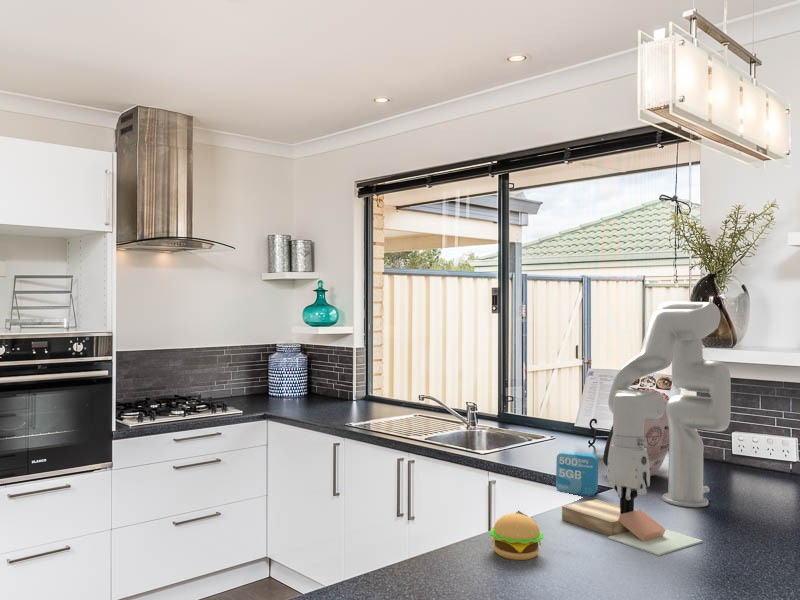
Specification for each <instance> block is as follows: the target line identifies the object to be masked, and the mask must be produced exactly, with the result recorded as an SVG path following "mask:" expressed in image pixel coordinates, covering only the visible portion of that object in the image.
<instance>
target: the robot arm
mask: <svg viewBox="0 0 800 600" xmlns="http://www.w3.org/2000/svg"><path fill="white" fill-rule="evenodd" d="M720 322H721V311H720V309H719V307H718V305H716V304H715V303H714V302H709V301H667V302H663V303H661V304H658V307H657V308H656V311H654V312H653V313H652V314H651V316H650V318H649V321H648V325H647V328H646V331H645V334H644V336H643V340H642V344H641V347H640V351H639V353H638V354H637V355H635V357H633V358H631V359H630V360H629V361H628V362H627V363H625V364H624V366H622V367H621V368H620V369H619V371H617V373H616V375H615V376H614V378H613V381H612V384H611V388H610V391H609V395H608V409H609V410H610V412H611V413H612V414H613V415H612V416H613V417H612V420H613V422H612V425H613V445H611V447H610V452H609V457H608V467H607V466H606V467H607V468H606V470H607V471H606V474H607V475H606V476H607V480H608V486H609V487H610V488H612V489H614V490H615V492H616V493H617V497H618V498H619V506H620V514H623V513H627V512H632V511H634V509H635V499H637V497H638V496H644V495H647V494H648V491H647V489H648V488H649V487H650V484H651V476H650V469H649V459H648V454H647V450H646V449H644V446H646V445H647V441H645V440H644V420H657V419H659V418H660V417H662V415H663V414H664V412H665V409H666V413H667V419H668V426H669V448H668V482H667V483H668V488H667V490H668V491H667V492H666V493H663V495H662V500H663V501H664V502H666V503H668V504H671V505H674V506H675V505H676V506H679V507H686V508H703V507H707V506H708V505H709V499H707V498H706V497H704V494H706V493H709V492H710V487H709V486H708V485H704V450H705V449H704V447H705V446H704V442H703V439H702V437H701V435H700V433H698V431H697V430H703V431H704V430H705V431H710V432H724V431H726V430H728V427H729V426H730V425H731V424H730V423H731V411H732V409H731V408H732V406H731V402H732V401H731V399H732V398H731V396H732V394H731V389H732V388H731V387H732V383H731V382H732V381H731V373H730V372H731V371H730V370H729V367H728V365H727V364H726V363H724V362H723V361H719V360H712V359H704V357H703V341H702V340H703V339H705V338H706V337H707V336H710V334H712V333H713V332H715V331H716V330H717V329H718V327H719V325H720ZM670 366H671V381H672V384H673V386H674V388H676V389H678V390H681V391H684V392H685V391H687V392H696V393H697V392H698V393H707V394H709V396H710V397H708V396H699V395H691V394H690V395H688V394H677V395H673V396H671V397H670V398H669V399H668V400H667V405H666V403H665V400H666V399H665V398H664V397H663V396H662V394H660V393H658V392H656V391H655V392H654V391H651V390H641V389H631V388H630V387H631V385H632V384H633V383H634V382H636V381H637V380H639V379H641V378H643V377H644V376H648V375H651V374H653V373H654V374H655V373H657V372H660V371H663V370H665V369H667V368H668V367H670ZM664 399H665V400H664Z"/></svg>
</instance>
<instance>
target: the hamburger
mask: <svg viewBox="0 0 800 600" xmlns="http://www.w3.org/2000/svg"><path fill="white" fill-rule="evenodd" d="M525 515H526V514H525ZM525 515H522V514H517V513H516V512H515V513H508V514H505V515H502V516H501V517H499V518H498V519H497V520H496V522H495V523H494V526H493V527H492V528H491V530H490V531H489V533H490V536H492V537H491V539H490V541H491V544H493V550H494V551H495V553H496V554H497V555H499V556H500V557H502V558H504V559H505V558H506V559H510V560H518V561H526V560H531V559H533V558H535V557H537V556H538V554H539V552H540V549H539V546H541V545H542V542H541V540H543V539H544V533H542V532H541V531H540V527H539V526H538V522H537V521H535V520H534V519H533V518H531V517H530V516H528V515H527V516H525ZM532 519H533V520H532ZM536 522H537V523H536Z"/></svg>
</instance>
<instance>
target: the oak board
mask: <svg viewBox="0 0 800 600" xmlns="http://www.w3.org/2000/svg"><path fill="white" fill-rule="evenodd" d="M634 511H636V510H634ZM619 517H620V505H617V504H614V503H610V502H607V501H603V500H601V499H592V500H587V501H582V502H577V503H572V504H567V505H562V507H561V520H562V521H565V522H567V523H570V524H574V525H576V526H580V527H582V528H586V529H588V530H591V531H595V532H597V533H600V534H603V535H606V536H608V537H609V536H613V535H617V534H621V533H624V532H628V531H630V530H628V529H627V528H626V527H625V526H624V525H622V524H621V523H620V522H619V521H618V519H619Z"/></svg>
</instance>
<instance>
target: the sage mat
mask: <svg viewBox="0 0 800 600" xmlns="http://www.w3.org/2000/svg"><path fill="white" fill-rule="evenodd" d="M665 529H666V530H665V533H664V535H663V536H662V537H658V538H654V539H651V540H647V541H644V542H643V541H642V540H641V539H639V538H638V537H637V536H636V535H635V534H633V533H632V532H631V531H628V532H624V533H621V534H617V535H613V536H609V535H608V537H607V538H608V539H609V540H612V541H615V542H617V543H620V544H624V545H626V546H629V547H632V548H636V549H638V550H641V551H643V552H647V553H650V554H652V555H656V556H658V557H659V556H661V555H666V554H669V553H671V552H675V551H678V550H681V549H682V550H683V549H684V548H689V547H691V546H694V545H695V546H696V545H698V544H701V543H703V542H704V541H703V539H699V538H697V537H696V538H695V537H692V536H689V535H686V534H683V533H679V532H676V531H673V530H669V529H667V528H665Z"/></svg>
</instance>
